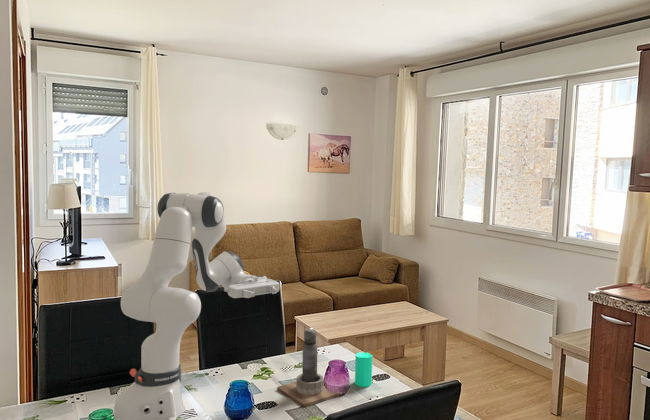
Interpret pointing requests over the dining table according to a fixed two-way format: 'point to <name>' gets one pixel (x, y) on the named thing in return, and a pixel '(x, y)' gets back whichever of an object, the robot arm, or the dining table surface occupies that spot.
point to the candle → (363, 369)
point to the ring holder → (307, 391)
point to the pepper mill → (309, 356)
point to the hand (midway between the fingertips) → (264, 293)
